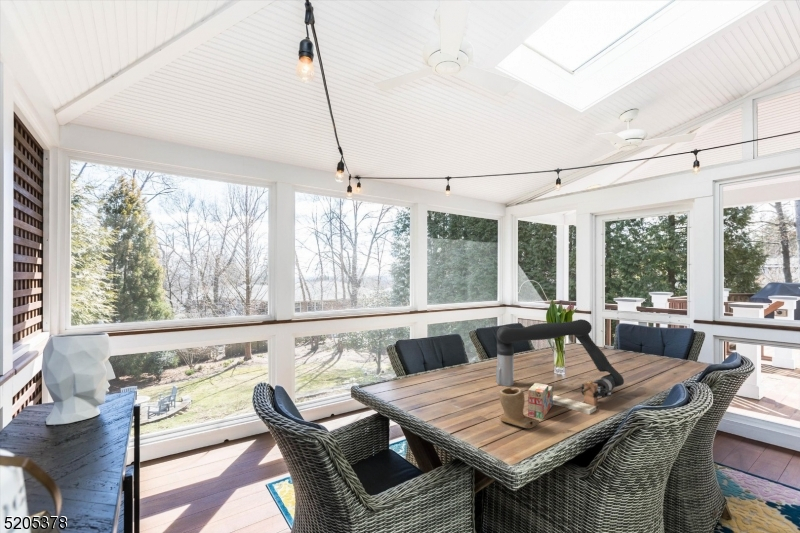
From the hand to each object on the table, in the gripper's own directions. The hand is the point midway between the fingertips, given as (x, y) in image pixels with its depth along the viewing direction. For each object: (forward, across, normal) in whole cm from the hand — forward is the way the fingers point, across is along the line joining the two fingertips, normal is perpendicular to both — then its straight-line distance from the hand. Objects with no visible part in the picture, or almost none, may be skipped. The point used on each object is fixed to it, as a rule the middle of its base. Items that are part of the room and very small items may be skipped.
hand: (588, 394), depth 174 cm
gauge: (0, 0, +7) cm, 7 cm away
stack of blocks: (+21, -14, +7) cm, 26 cm away
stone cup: (+44, -13, +7) cm, 47 cm away
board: (+4, -7, +6) cm, 10 cm away
